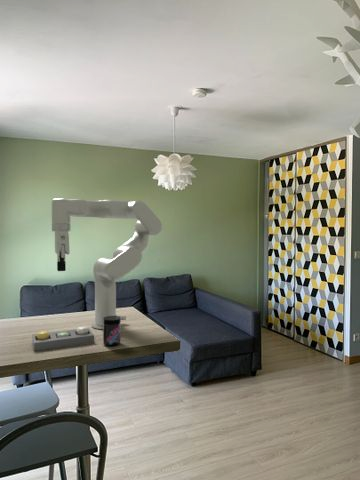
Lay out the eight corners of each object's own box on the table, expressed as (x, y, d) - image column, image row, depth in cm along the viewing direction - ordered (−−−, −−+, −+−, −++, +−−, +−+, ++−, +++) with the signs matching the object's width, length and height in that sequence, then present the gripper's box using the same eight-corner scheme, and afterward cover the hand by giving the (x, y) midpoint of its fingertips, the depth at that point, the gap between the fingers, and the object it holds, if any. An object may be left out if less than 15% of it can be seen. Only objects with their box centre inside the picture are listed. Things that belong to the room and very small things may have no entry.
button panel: (88, 334, 148) (88, 327, 148) (94, 342, 138) (94, 335, 138) (32, 341, 138) (32, 334, 138) (34, 351, 128) (34, 343, 128)
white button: (86, 331, 144) (86, 326, 144) (89, 335, 140) (89, 328, 140) (75, 333, 142) (75, 327, 142) (77, 336, 138) (77, 330, 138)
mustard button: (48, 336, 138) (48, 330, 137) (49, 340, 134) (49, 333, 134) (36, 338, 136) (36, 331, 136) (37, 341, 132) (37, 335, 132)
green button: (68, 337, 141) (68, 331, 141) (69, 341, 137) (69, 334, 137) (56, 339, 139) (56, 333, 139) (58, 342, 135) (58, 336, 135)
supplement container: (102, 347, 133) (102, 320, 132) (103, 341, 139) (103, 315, 139) (120, 346, 134) (120, 319, 133) (120, 340, 140) (120, 315, 140)
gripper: (73, 228, 142) (73, 272, 143) (67, 227, 156) (67, 268, 156) (53, 228, 139) (54, 273, 140) (49, 227, 152) (50, 269, 153)
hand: (61, 270), depth 148 cm, fingers closed
